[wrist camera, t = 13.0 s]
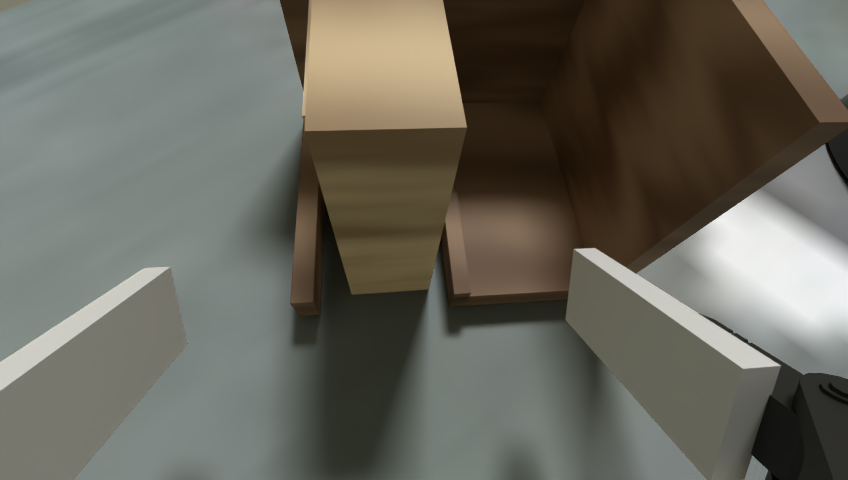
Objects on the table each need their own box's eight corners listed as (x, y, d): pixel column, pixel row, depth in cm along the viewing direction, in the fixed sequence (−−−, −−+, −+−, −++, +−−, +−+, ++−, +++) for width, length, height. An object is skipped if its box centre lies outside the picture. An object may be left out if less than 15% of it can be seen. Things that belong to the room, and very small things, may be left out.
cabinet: (601, 297, 21) (856, 122, 9) (299, 316, 19) (160, 132, 8) (544, 108, 27) (656, -139, 16) (312, 110, 26) (244, -162, 14)
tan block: (428, 289, 20) (467, 127, 10) (345, 295, 20) (291, 131, 9) (412, 141, 25) (427, -80, 14) (345, 143, 25) (307, -84, 14)
